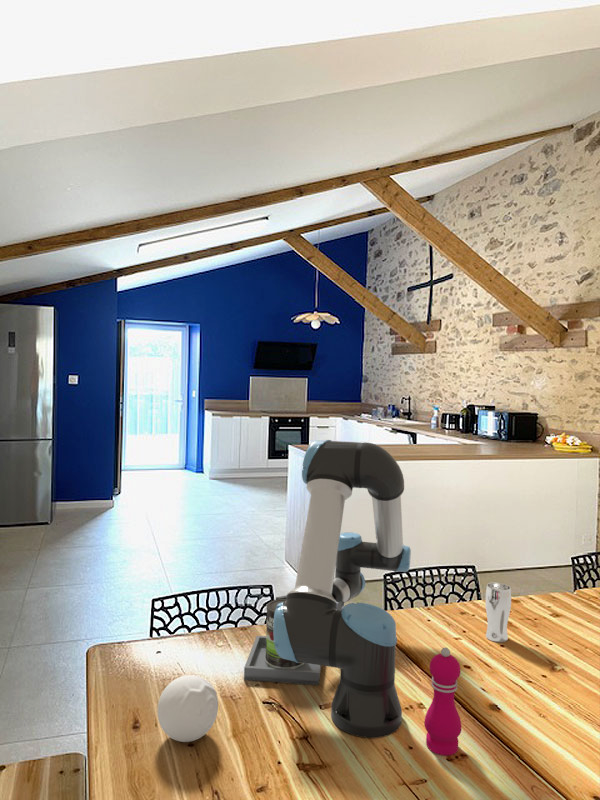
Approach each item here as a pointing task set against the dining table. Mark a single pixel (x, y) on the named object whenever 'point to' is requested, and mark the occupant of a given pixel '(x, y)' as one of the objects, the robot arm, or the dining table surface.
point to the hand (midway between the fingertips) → (291, 619)
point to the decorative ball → (187, 708)
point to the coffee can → (271, 653)
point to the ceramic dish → (263, 672)
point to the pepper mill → (443, 705)
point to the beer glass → (497, 611)
